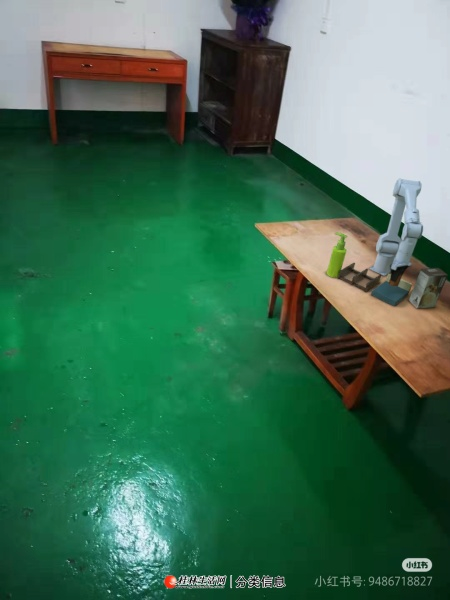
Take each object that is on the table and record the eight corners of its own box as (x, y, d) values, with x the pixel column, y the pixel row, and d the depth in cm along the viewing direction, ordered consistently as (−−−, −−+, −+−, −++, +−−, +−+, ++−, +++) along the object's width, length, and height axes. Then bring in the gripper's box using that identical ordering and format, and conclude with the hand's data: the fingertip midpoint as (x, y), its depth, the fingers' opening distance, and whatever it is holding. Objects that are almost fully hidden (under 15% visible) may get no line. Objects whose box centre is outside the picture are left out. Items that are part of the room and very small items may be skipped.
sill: (385, 284, 207) (389, 273, 204) (408, 295, 202) (412, 283, 198) (370, 295, 198) (374, 283, 195) (394, 306, 192) (398, 294, 189)
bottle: (391, 280, 199) (396, 266, 195) (400, 284, 197) (405, 270, 193) (386, 283, 196) (391, 269, 193) (395, 287, 194) (401, 273, 190)
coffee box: (425, 299, 200) (438, 267, 192) (434, 307, 195) (448, 275, 186) (408, 300, 198) (420, 268, 189) (416, 308, 193) (430, 276, 184)
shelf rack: (351, 269, 216) (353, 262, 214) (379, 282, 208) (381, 275, 206) (337, 278, 208) (339, 270, 206) (365, 292, 200) (368, 284, 198)
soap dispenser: (328, 269, 214) (338, 230, 203) (341, 274, 211) (352, 235, 200) (322, 273, 210) (332, 233, 199) (335, 279, 207) (346, 239, 196)
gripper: (407, 259, 181) (396, 288, 189) (421, 249, 191) (411, 277, 198) (390, 252, 185) (381, 281, 192) (405, 243, 194) (396, 271, 202)
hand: (395, 279), depth 195 cm, fingers closed on bottle, 4 cm apart
